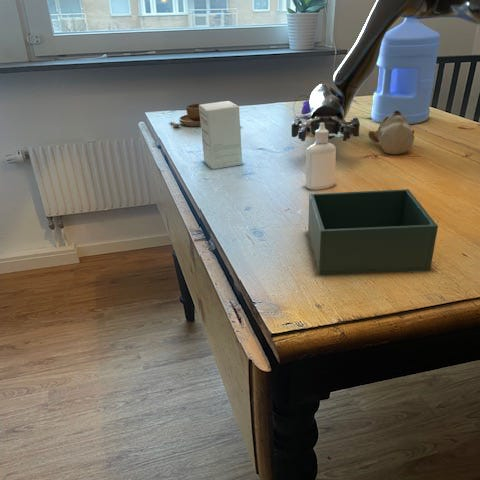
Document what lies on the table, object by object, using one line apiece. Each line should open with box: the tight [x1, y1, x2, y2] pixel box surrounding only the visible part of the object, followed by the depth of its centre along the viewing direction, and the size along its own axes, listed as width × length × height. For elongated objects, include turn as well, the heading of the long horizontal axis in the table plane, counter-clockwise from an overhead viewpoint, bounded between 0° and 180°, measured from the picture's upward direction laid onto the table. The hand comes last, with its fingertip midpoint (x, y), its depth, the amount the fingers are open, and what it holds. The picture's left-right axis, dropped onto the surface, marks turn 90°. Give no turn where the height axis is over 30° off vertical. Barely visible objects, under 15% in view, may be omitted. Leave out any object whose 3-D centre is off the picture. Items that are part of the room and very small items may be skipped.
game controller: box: [292, 95, 312, 119], centre depth 147 cm, size 10×8×10 cm
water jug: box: [370, 17, 441, 126], centre depth 134 cm, size 16×16×28 cm
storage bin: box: [307, 188, 439, 276], centre depth 73 cm, size 15×14×7 cm
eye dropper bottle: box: [305, 123, 337, 191], centre depth 96 cm, size 4×6×12 cm
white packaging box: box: [199, 100, 243, 170], centre depth 112 cm, size 7×7×13 cm
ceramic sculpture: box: [368, 111, 415, 155], centre depth 116 cm, size 11×9×15 cm
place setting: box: [170, 103, 202, 128], centre depth 147 cm, size 18×20×6 cm
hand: (323, 136), depth 102 cm, fingers open, 8 cm apart
